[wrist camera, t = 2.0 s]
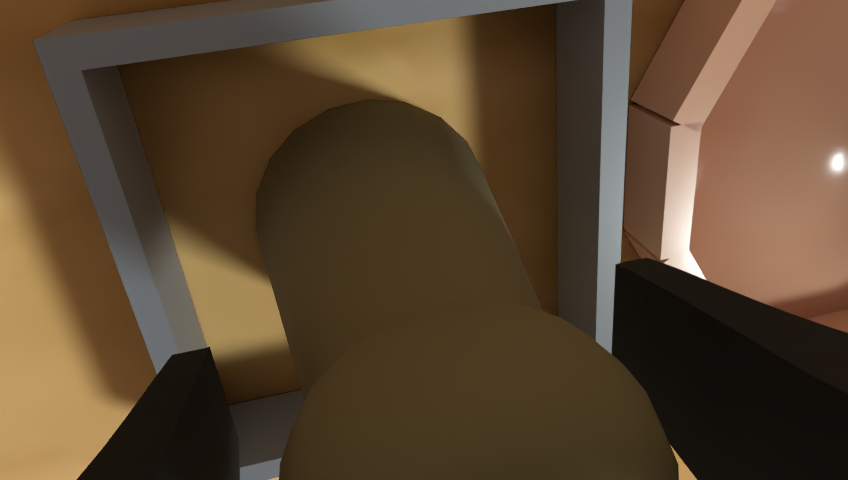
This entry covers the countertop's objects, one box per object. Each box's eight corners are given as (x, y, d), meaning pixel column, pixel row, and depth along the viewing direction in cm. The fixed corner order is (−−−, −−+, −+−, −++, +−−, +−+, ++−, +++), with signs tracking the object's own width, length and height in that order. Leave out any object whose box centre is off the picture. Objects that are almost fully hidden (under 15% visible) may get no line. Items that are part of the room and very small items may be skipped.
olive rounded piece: (237, 109, 15) (179, 463, 5) (489, 90, 16) (831, 352, 6) (271, 328, 17) (274, 828, 8) (484, 299, 19) (717, 707, 9)
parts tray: (209, 426, 18) (201, 494, 16) (71, 20, 13) (32, 40, 11) (576, 345, 20) (613, 396, 18) (580, -47, 15) (634, -41, 13)
